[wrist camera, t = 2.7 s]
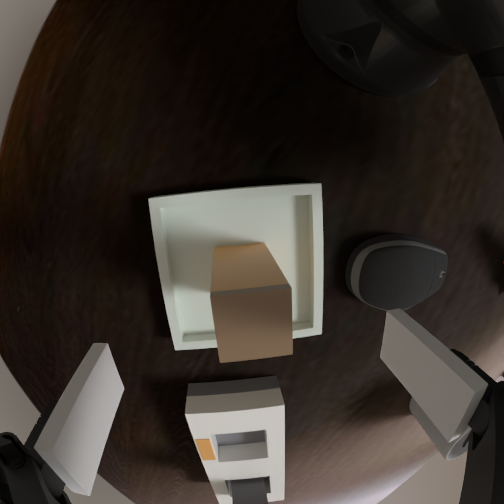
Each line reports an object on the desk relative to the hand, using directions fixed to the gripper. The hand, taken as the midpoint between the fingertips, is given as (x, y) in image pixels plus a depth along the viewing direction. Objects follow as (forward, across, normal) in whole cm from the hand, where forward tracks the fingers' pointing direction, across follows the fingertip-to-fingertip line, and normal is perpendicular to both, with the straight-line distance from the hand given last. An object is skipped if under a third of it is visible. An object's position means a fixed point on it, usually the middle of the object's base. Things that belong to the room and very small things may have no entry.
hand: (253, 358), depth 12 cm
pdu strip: (+13, -2, -23) cm, 26 cm away
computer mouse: (+13, +16, -2) cm, 21 cm away
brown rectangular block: (+12, 0, 0) cm, 12 cm away
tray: (+13, 0, 0) cm, 13 cm away
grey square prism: (+11, -2, -28) cm, 30 cm away
